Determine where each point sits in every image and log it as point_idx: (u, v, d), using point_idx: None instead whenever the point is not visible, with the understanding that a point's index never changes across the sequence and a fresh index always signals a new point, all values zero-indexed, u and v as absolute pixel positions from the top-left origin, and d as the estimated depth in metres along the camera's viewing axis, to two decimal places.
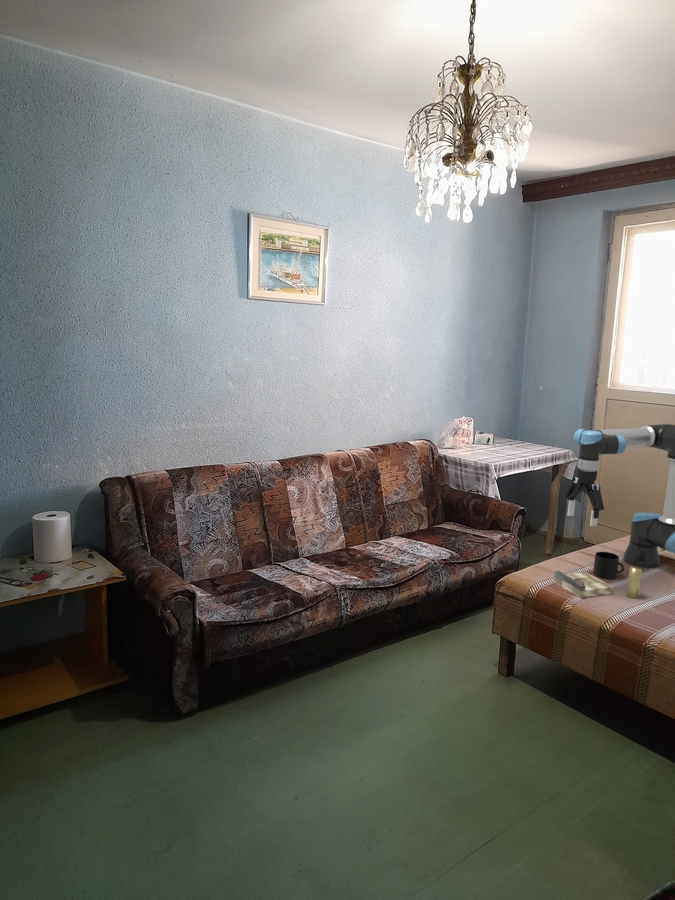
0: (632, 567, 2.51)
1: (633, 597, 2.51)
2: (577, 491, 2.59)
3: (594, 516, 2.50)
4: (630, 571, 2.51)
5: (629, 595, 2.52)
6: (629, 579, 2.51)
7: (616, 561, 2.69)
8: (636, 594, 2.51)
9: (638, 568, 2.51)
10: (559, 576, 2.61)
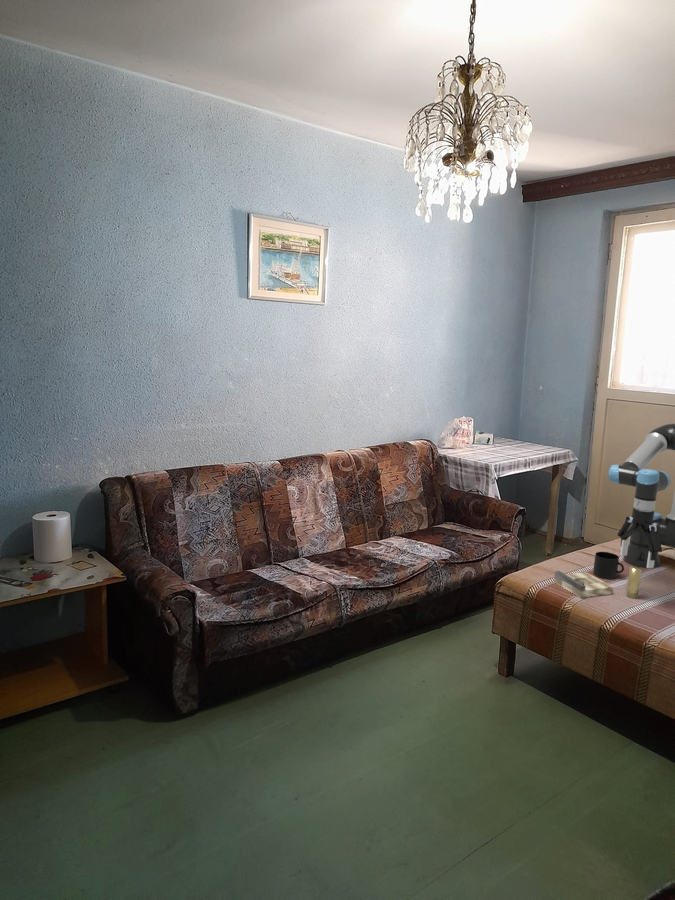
0: (632, 567, 2.51)
1: (633, 597, 2.51)
2: (632, 531, 2.51)
3: (651, 558, 2.42)
4: (630, 571, 2.51)
5: (629, 595, 2.52)
6: (629, 579, 2.51)
7: (616, 561, 2.69)
8: (636, 594, 2.51)
9: (638, 568, 2.51)
10: (559, 576, 2.61)
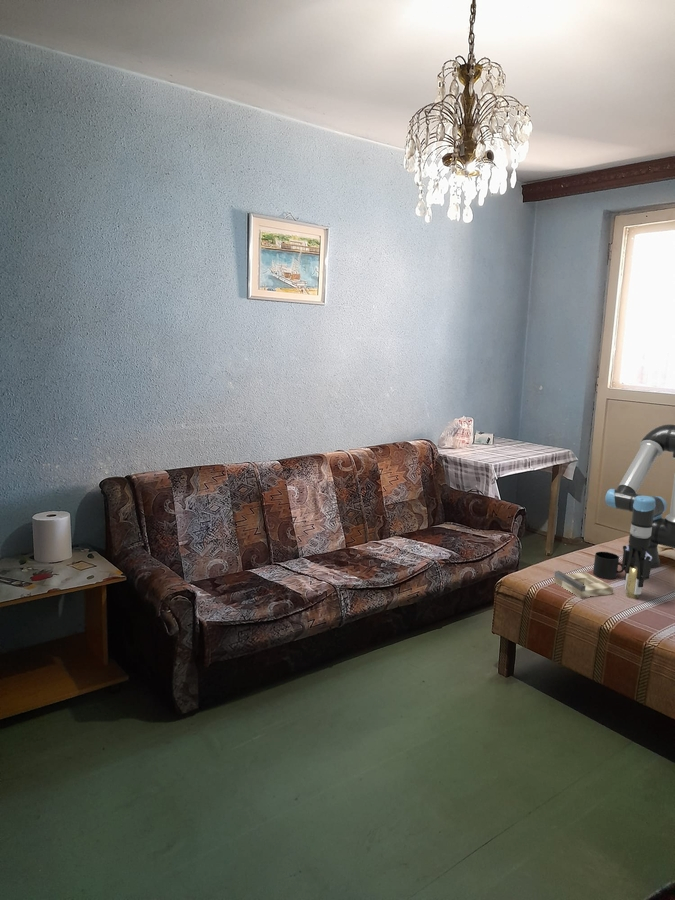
0: (632, 567, 2.51)
1: (633, 597, 2.51)
2: (632, 559, 2.52)
3: (639, 585, 2.49)
4: (630, 571, 2.51)
5: (629, 595, 2.52)
6: (629, 579, 2.52)
7: (616, 561, 2.69)
8: None
9: None
10: (559, 576, 2.61)
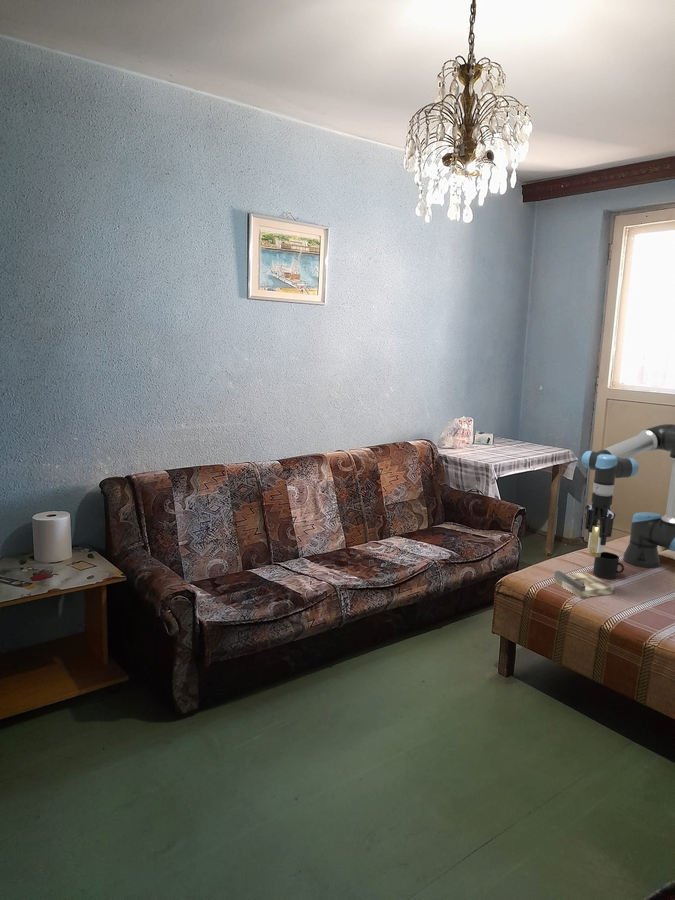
0: (595, 526, 2.54)
1: (596, 555, 2.53)
2: (595, 518, 2.54)
3: (601, 543, 2.51)
4: (593, 529, 2.53)
5: (592, 553, 2.54)
6: (592, 537, 2.54)
7: (616, 561, 2.69)
8: None
9: None
10: (559, 576, 2.61)
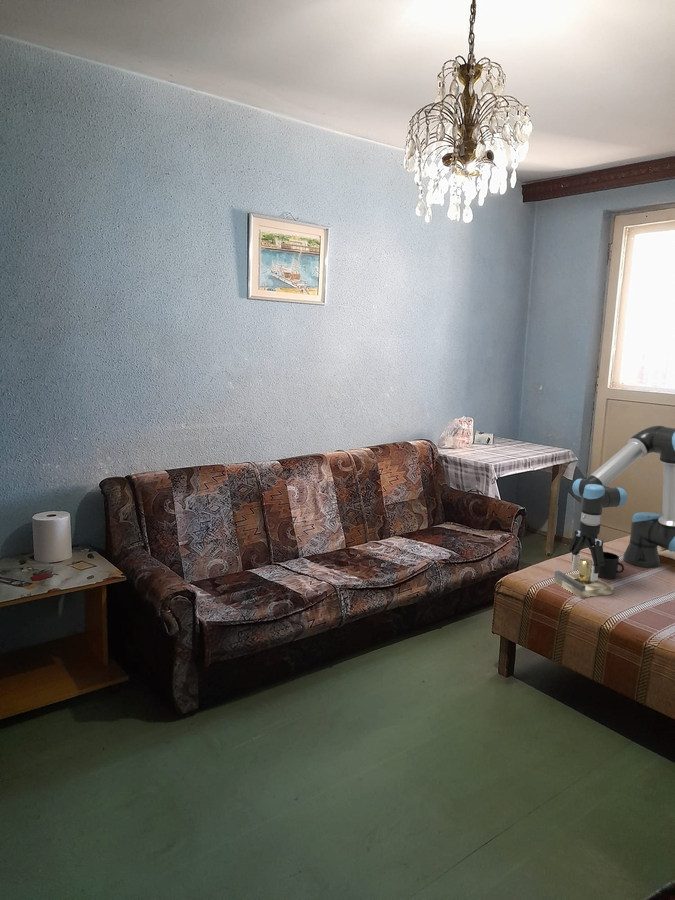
0: (582, 559, 2.58)
1: None
2: (581, 545, 2.59)
3: (595, 571, 2.52)
4: (580, 563, 2.57)
5: None
6: (579, 571, 2.58)
7: (616, 561, 2.69)
8: None
9: (588, 560, 2.57)
10: (559, 576, 2.61)
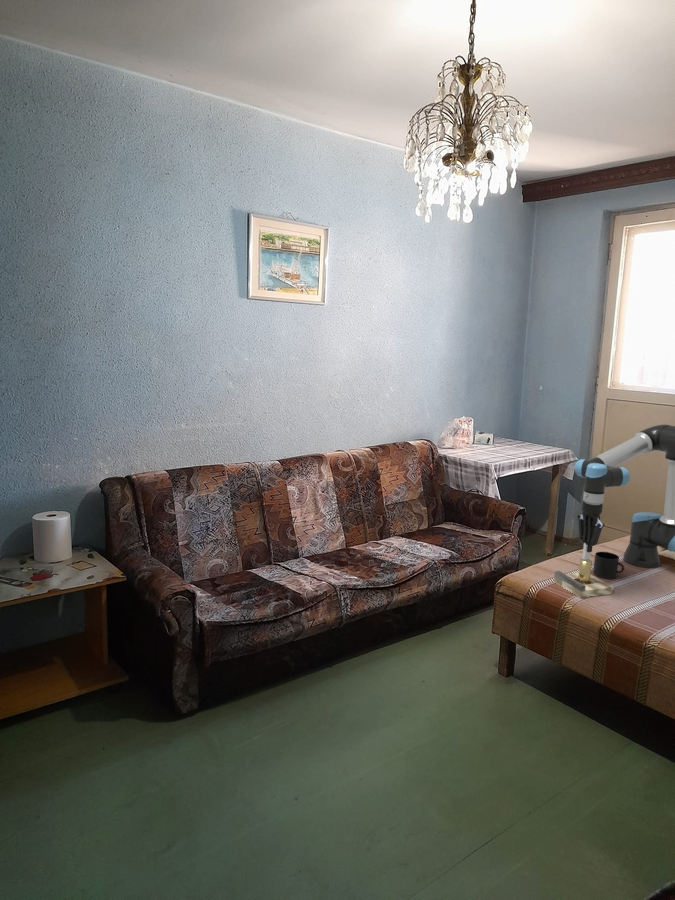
0: (582, 559, 2.58)
1: None
2: (587, 527, 2.55)
3: (587, 550, 2.55)
4: (580, 563, 2.57)
5: None
6: (579, 571, 2.58)
7: (616, 561, 2.69)
8: None
9: (588, 560, 2.57)
10: (559, 576, 2.61)
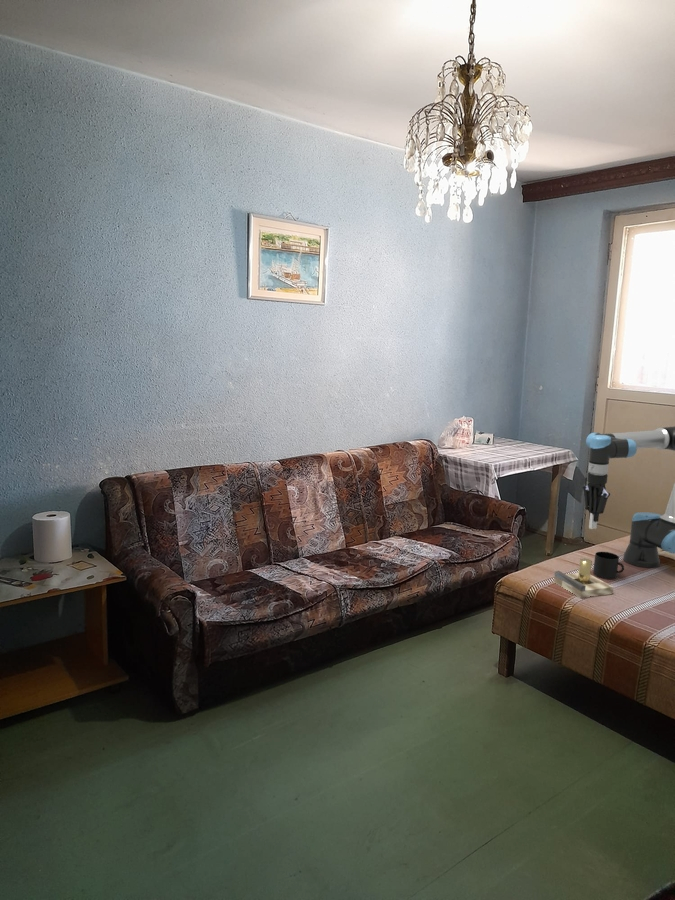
0: (582, 559, 2.58)
1: None
2: (592, 497, 2.62)
3: (594, 519, 2.62)
4: (580, 563, 2.57)
5: None
6: (579, 571, 2.58)
7: (616, 561, 2.69)
8: None
9: (588, 560, 2.57)
10: (559, 576, 2.61)
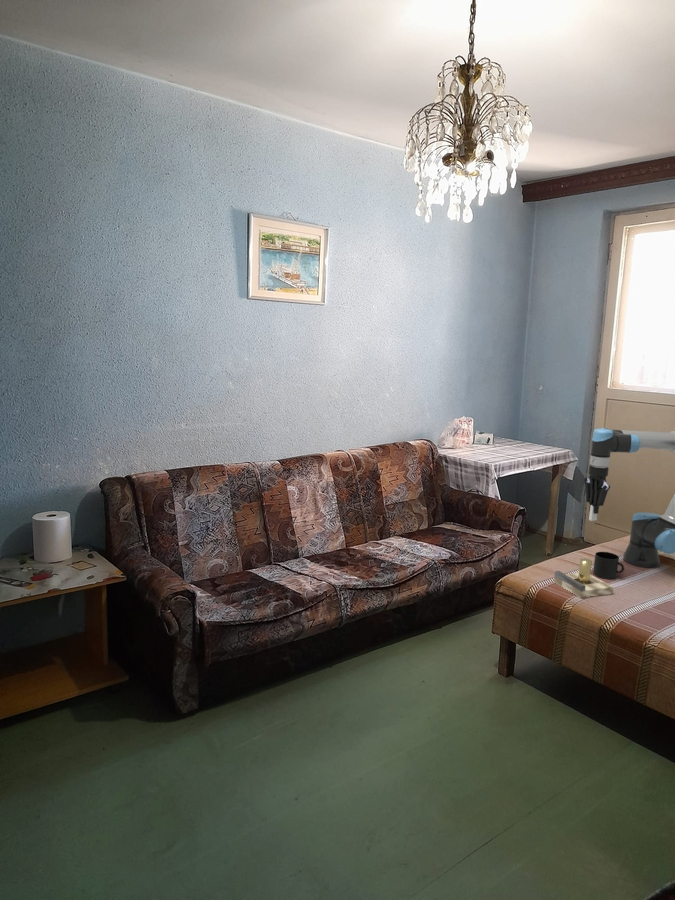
0: (582, 559, 2.58)
1: None
2: (593, 490, 2.68)
3: (594, 511, 2.68)
4: (580, 563, 2.57)
5: None
6: (579, 571, 2.58)
7: (616, 560, 2.69)
8: None
9: (588, 560, 2.57)
10: (559, 576, 2.61)
